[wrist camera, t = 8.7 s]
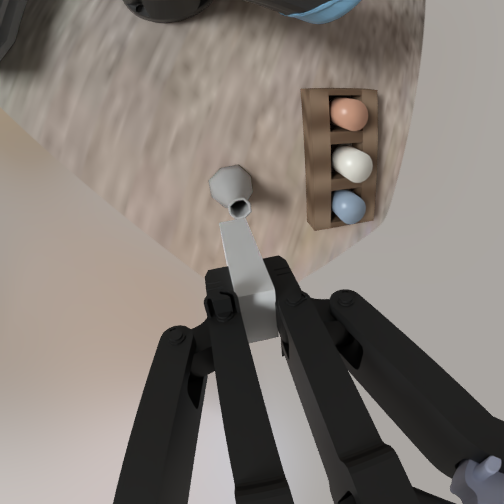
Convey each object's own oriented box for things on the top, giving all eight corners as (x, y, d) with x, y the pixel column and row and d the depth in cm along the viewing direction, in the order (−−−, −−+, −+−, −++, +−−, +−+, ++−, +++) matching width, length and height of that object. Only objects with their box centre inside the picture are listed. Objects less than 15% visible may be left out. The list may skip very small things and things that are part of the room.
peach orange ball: (325, 97, 43) (338, 99, 38) (352, 97, 43) (367, 99, 39) (326, 126, 45) (340, 131, 41) (353, 125, 46) (368, 130, 42)
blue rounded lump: (327, 188, 51) (340, 199, 47) (352, 185, 52) (366, 195, 47) (327, 214, 54) (339, 226, 50) (351, 210, 54) (364, 221, 50)
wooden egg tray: (300, 88, 43) (309, 89, 39) (364, 88, 44) (377, 90, 41) (307, 221, 55) (314, 230, 52) (363, 211, 57) (373, 220, 53)
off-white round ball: (330, 145, 46) (344, 153, 41) (357, 144, 46) (372, 151, 42) (331, 174, 48) (344, 184, 44) (357, 171, 49) (371, 181, 45)
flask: (240, 156, 47) (252, 174, 39) (259, 193, 51) (274, 217, 43) (200, 178, 48) (203, 200, 39) (221, 213, 52) (229, 241, 43)
